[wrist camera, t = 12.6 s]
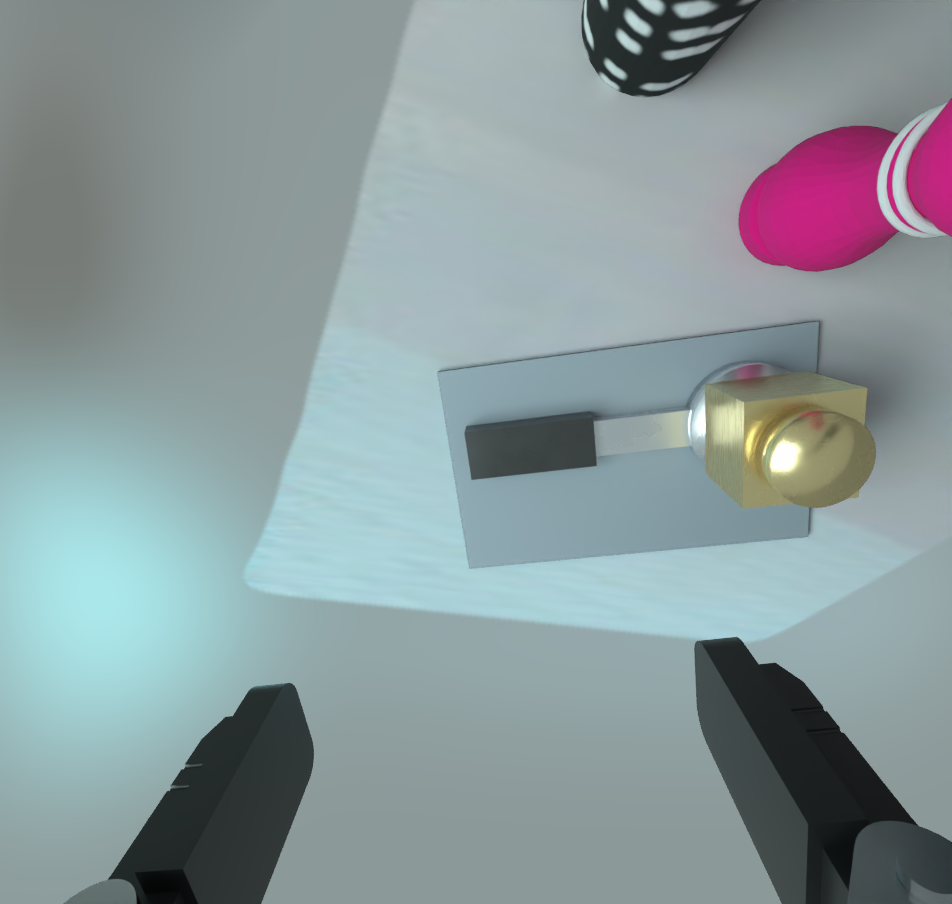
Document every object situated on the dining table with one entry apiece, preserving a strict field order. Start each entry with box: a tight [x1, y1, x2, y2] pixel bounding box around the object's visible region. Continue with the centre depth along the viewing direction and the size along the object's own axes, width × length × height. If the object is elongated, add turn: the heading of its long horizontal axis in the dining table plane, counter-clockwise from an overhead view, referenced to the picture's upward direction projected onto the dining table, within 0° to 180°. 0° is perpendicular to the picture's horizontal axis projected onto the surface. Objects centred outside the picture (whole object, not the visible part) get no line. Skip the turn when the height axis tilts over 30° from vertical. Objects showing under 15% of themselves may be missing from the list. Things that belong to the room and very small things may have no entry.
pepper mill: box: [739, 99, 952, 271], centre depth 23 cm, size 7×7×20 cm
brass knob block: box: [705, 371, 876, 509], centre depth 31 cm, size 6×6×8 cm
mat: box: [437, 321, 819, 569], centre depth 38 cm, size 16×26×1 cm, turn 98°
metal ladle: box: [464, 361, 792, 480], centre depth 35 cm, size 8×24×6 cm, turn 98°
